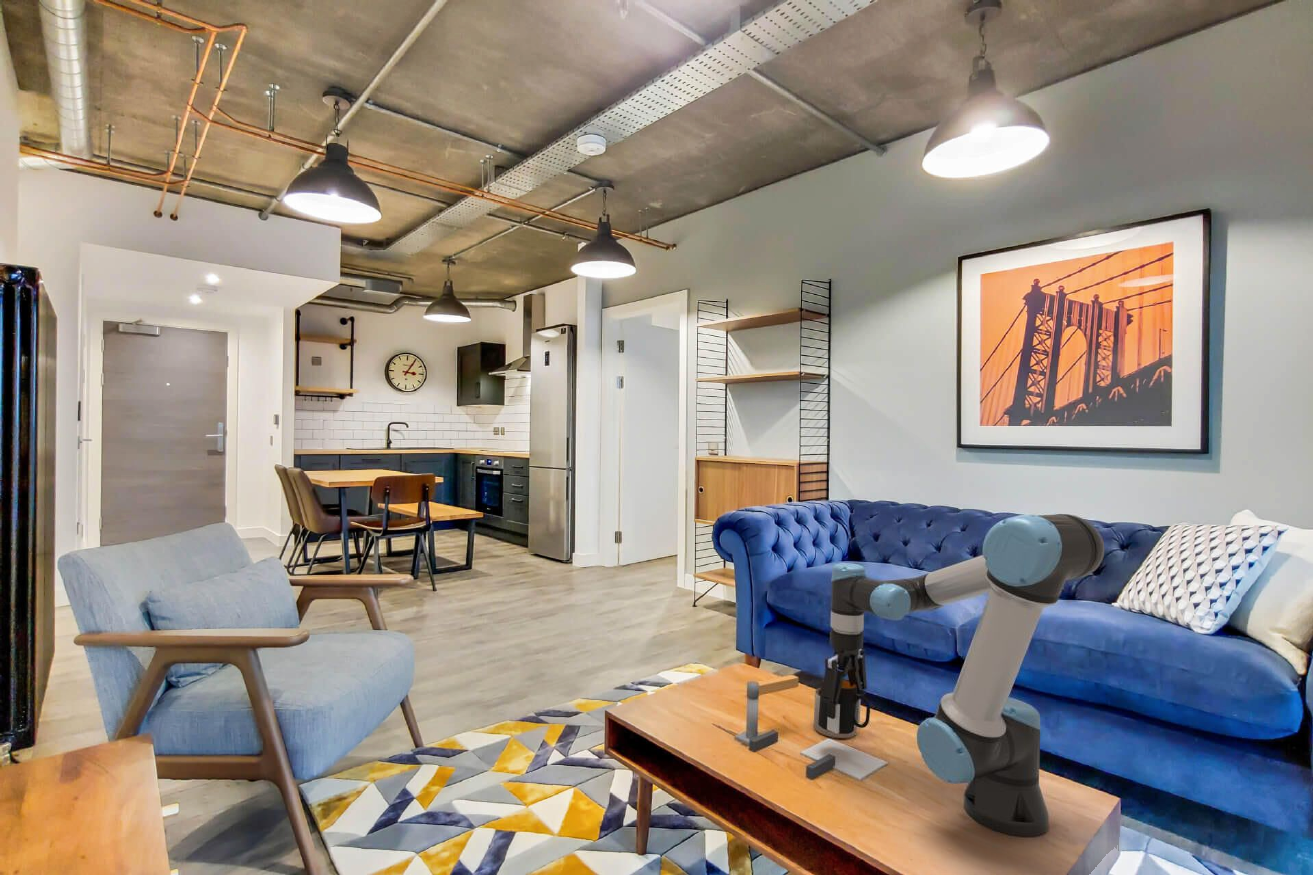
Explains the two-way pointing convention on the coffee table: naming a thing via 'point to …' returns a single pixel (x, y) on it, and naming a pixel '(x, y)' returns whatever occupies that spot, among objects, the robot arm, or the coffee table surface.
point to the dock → (768, 738)
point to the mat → (846, 758)
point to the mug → (844, 709)
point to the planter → (823, 731)
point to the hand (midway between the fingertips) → (843, 725)
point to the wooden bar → (771, 685)
